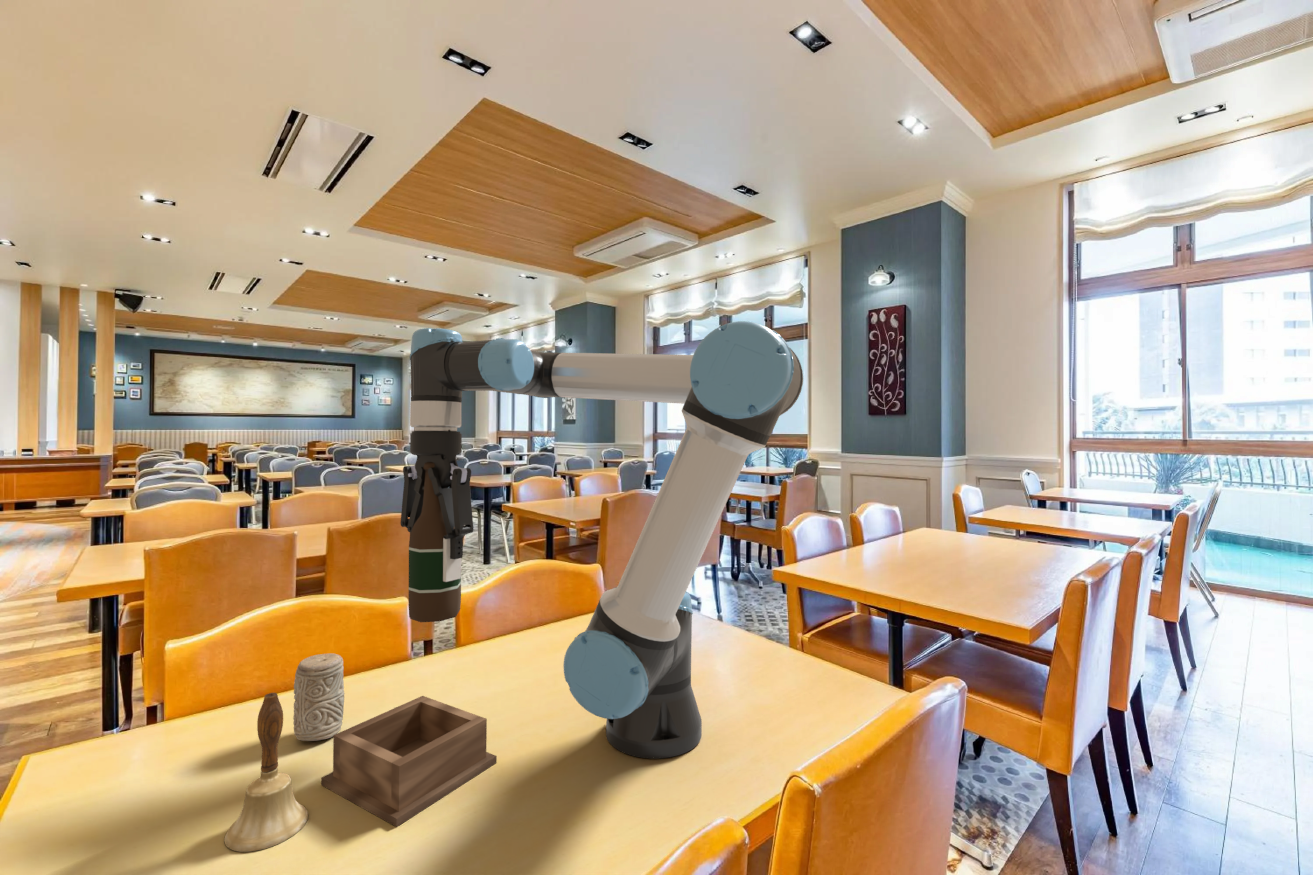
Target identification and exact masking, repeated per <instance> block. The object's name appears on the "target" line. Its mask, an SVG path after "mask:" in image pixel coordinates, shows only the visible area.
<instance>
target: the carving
mask: <svg viewBox="0 0 1313 875" xmlns="http://www.w3.org/2000/svg"><path fill="white" fill-rule="evenodd" d="M344 668H345V667H344V659H343V657H342V656H341V655H340V654H336V653H333V652H332V653H331V652H330V653H322V654H315V655H314V654H313V655H310V656H308V657H306V658H304V659H302V660H301V661H300V662H299V664H298V665H297V668H296V670H295V676H294V683H293V689H294V690H293V695H294V696H293V699H294V702H293V717H292V719H293V733H294V736H295V737H296V739H297V740H298V741H302V742H303V741H304V742H305V741H306V742H317V741H321V740H326V739H330V738H333V735H335V734H337V733H340V732H341V729H342V726H343V720H344V705H345V690H344V689H345V686H344V685H345V683H344Z"/></svg>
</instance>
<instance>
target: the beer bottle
mask: <svg viewBox="0 0 1313 875" xmlns="http://www.w3.org/2000/svg"><path fill="white" fill-rule="evenodd" d="M434 467H435V464H434V463H433V462H426V463H425V464H424V467H423V469H424V470H425V483H424V497H423V507H422V512H421V515H420V517H419V518H418V519H417V521H416V522H415V524H414V526H413V528H412V531H411V534H410V533H409V540H408V617H409V619H410V620H413V621H416V622H418V623H437V622H438V623H439V622H444V621H446V620H450V619H453V618H456V617H458V614H459V612H460V611H461V604H462V603H461V602H462V577H461V578H460V579H456V580H452V581H448V582H444V581H443V538H444V537H443V536H445V535H447V532H446V528H445V523H444V519H443V515H442V511H441V507H440V503H439V498H438V496H436V495H435V494H434V490H433V485H432V481H431V480H430V478H429V475H428V469H429V468H434ZM454 529H455V527H454Z"/></svg>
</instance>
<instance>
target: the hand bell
mask: <svg viewBox="0 0 1313 875" xmlns="http://www.w3.org/2000/svg"><path fill="white" fill-rule="evenodd" d="M283 712H284V710H283V707H282V705H281V701H280V699H279V697H278V693H277V692H269V693H267V694H265V695H264V698H263V701H262V704H261V706H260V709H259V712H258V716H257V721H256V722H257V723H256V725H257V728H256V730H257V735H258V736H257V737H258V740H259V743H260V745H261V746H260V747H261V763H260V764H261V766H260V777H258V778H256V779H254V780H253V781H252V782H250V784H248V786H247V788H246V791H245V797H244V802H243V805H242V810H241V812H240V814H239V816H238V818H237V819H236V820H235V821H234V822H233V823H232V824H231V826H230V827H229V828H228V830H227V831H226V834H225V836H224V844H225V846H226V847H227V849H229V850H232V851H234V852H240V853H245V852H246V853H249V852H256V851H261V850H265V849H268V848H271V847H272V848H273V847H275V846H276V845H279V844H281V843H284V842H285V841H287V840H289V839H290V838H292V837H293V836H294V835H297V833H299V832H300V831H301V830H302V829H303V828H304V827H305V825H306V824H307V822H308V819H309V812H308V809H307V808H306V807H305V805H303V804H301V803H300V802H298V801H297V799H296V798H295V795H294V793H293V792H294V790H293V786H292V779H291V777H290V775H289V774H287V773H284V772H278V771H279V768H278V767H279V761H278V760H279V758H278V756H279V755H278V754H279V753H278V747H279V746H278V745H279V741H280V738H281V735H282V732H283V727H284V713H283Z"/></svg>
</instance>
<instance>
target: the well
mask: <svg viewBox="0 0 1313 875" xmlns="http://www.w3.org/2000/svg"><path fill="white" fill-rule="evenodd" d="M487 721H488V720H487V718H486V717H483V716H480V715H477V714H474V713H471V712H469V711H467V710H463V709H460V708H458V707H455V706H453V705H449V704H447V703H444V702H441V701H438V700H436V699H433V698H430V697H428V696H426V695H425V696H424V695H421V696H418V697H416V698H414V699H412V700H410V701H408V702H405V703H402V704H401V705H398V706H396V707H394V708H392V709H390V710H389V709H388V710H387V711H385V712H383V713H381V714H379V715H376V716H374V717H371V718H369V719H367V720H365V721H363V722H360V723H358V724H356V725H354V726H351V727H349V728H348V729H347V728H346V729H344V730H342V731H339V732H338V733H337V734H335V735H333V737H332V739H333V741H332V742H333V745H332V746H333V748H332V750H333V751H332V755H333V756H332V772H330V773H327V774H326V775H324V776H322V777H320V778H321V779H320V780H321V782H320V784H321V786H323V787H324V788H326V789H328V790H329V791H331V792H333V793H334V794H336V795H339V796H340V797H342V798H344V799H345V800H348V801H349V802H351V803H352V804H354V805H356V806H358V807H360V808H362V809H363V810H366V811H367V812H369V813H371V815H372V814H373V815H374V816H376V817H378V818H379V819H382V820H383V821H385V822H387V823H389V824H390V825H393V826H394V827H397V828H398V827H399V826H400V825H402V824H404V823H406V822H407V821H408V820H409V821H410V819H412V818H414V816H416V815H418V814H419V813H421V812H422V811H424V810H426V809H427V808H429V807H430V806H432V805H433V804H435V803H436V802H438V801H440V800H441V799H442V798H444V797H446V796H447V795H450V794H451V793H452V792H454V791H455V790H457V789H458V788H460V787H462V786H463V785H465V784H466V783H468V782H469V781H471V780H472V779H473V778H475V777H477V776H479V775H480V774H481V773H483V772H485V771H486V770H488V769H489V768H491V767H492V766H494V765H495V764H497V755H495V754H493V753H491V752H487V730H488V729H487Z"/></svg>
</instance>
